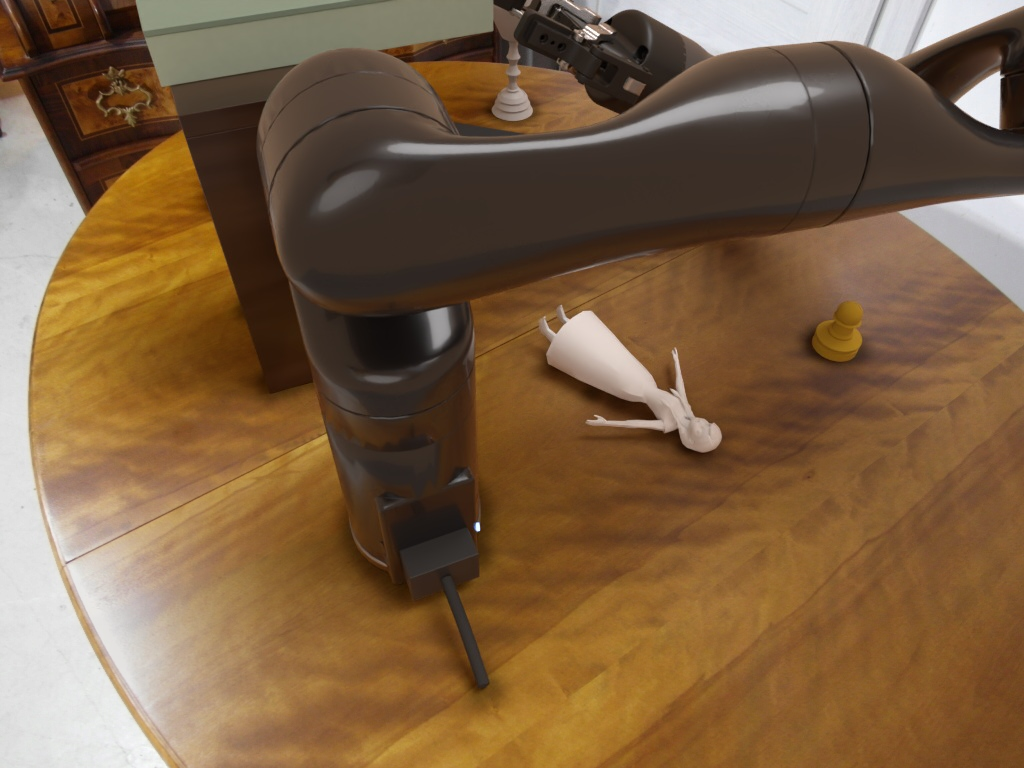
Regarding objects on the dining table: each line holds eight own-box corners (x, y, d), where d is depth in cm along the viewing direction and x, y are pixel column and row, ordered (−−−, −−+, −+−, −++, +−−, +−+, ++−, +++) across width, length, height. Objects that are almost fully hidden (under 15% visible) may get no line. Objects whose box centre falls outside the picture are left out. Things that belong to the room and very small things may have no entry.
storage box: (493, 31, 53) (494, -22, 51) (161, 88, 48) (142, 30, 45) (470, 5, 56) (469, -47, 54) (153, 55, 50) (135, -1, 48)
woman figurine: (596, 269, 68) (768, 388, 61) (589, 305, 72) (750, 421, 64) (502, 334, 63) (679, 474, 55) (499, 370, 66) (665, 505, 59)
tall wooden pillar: (419, 351, 68) (391, 77, 49) (269, 393, 64) (177, 115, 45) (380, 268, 75) (342, 2, 56) (244, 302, 71) (155, 30, 53)
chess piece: (812, 326, 71) (829, 284, 67) (856, 335, 70) (877, 293, 66) (811, 356, 68) (829, 315, 64) (857, 365, 67) (878, 324, 64)
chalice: (477, 121, 93) (475, -39, 80) (488, 93, 98) (487, -63, 84) (537, 127, 93) (545, -33, 79) (545, 99, 97) (553, -57, 84)
